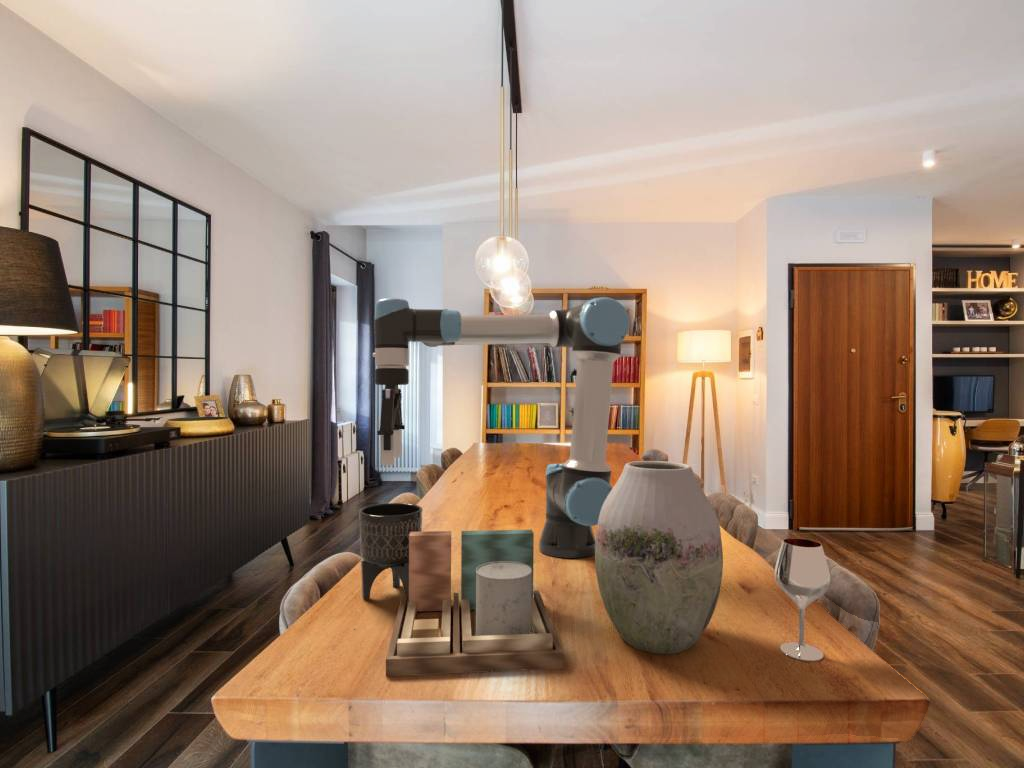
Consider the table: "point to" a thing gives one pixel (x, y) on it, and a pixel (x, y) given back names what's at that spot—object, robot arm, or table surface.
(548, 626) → the guide frame
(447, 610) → the cube sled
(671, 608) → the vase
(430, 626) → the oak cube
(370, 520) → the planter
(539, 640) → the can sled
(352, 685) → the table surface
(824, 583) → the wineglass
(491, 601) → the speckled stone cylinder
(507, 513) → the table surface
